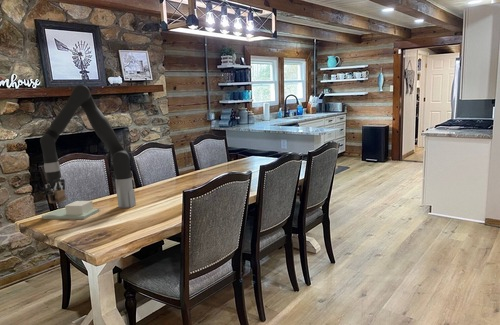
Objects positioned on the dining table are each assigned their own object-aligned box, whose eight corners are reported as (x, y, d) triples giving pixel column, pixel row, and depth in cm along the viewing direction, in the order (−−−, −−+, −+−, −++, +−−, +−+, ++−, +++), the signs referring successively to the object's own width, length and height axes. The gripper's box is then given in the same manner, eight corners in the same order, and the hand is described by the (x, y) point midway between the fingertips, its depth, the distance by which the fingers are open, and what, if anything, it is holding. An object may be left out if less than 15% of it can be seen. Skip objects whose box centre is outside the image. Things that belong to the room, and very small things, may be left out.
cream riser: (93, 209, 218) (92, 200, 217) (82, 214, 208) (81, 205, 207) (77, 209, 219) (76, 200, 219) (66, 214, 210) (65, 205, 209)
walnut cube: (65, 199, 215) (64, 189, 214) (58, 202, 209) (57, 192, 208) (56, 200, 216) (54, 189, 215) (49, 203, 210) (47, 192, 209)
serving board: (99, 211, 218) (98, 208, 218) (84, 219, 205) (84, 216, 204) (58, 211, 223) (58, 208, 223) (42, 218, 210) (41, 216, 209)
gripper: (49, 172, 202) (54, 203, 205) (67, 167, 216) (71, 196, 219) (37, 173, 204) (42, 203, 206) (55, 168, 218) (59, 196, 220)
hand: (57, 199), depth 213 cm, fingers closed on walnut cube, 6 cm apart
